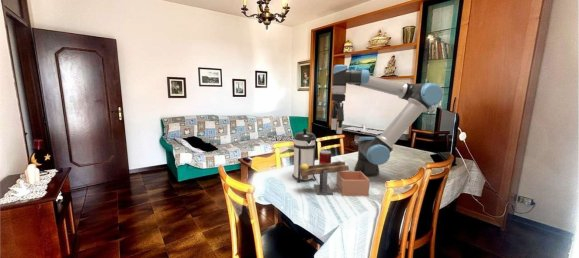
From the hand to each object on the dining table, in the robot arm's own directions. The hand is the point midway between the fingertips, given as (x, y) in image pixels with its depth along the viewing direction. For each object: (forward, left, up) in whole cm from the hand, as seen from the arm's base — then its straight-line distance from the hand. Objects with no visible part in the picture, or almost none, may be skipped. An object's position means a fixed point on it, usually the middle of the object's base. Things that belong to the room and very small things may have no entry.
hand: (336, 131), depth 136 cm
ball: (+19, +16, -16) cm, 30 cm away
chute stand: (+9, +16, -28) cm, 34 cm away
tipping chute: (+9, +13, -20) cm, 25 cm away
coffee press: (+18, -2, -29) cm, 34 cm away
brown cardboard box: (-6, +16, -28) cm, 33 cm away
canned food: (+1, -22, -29) cm, 36 cm away
